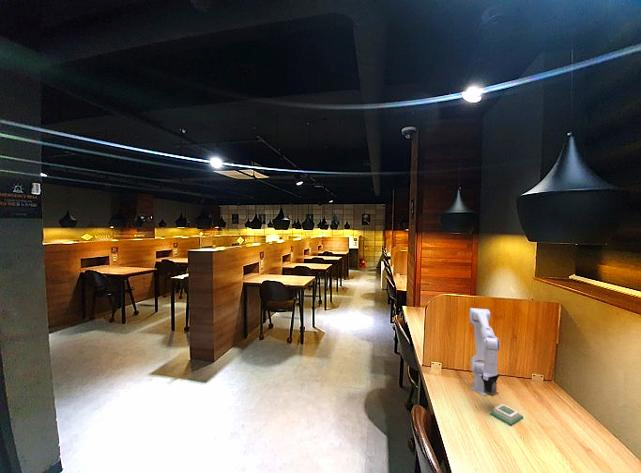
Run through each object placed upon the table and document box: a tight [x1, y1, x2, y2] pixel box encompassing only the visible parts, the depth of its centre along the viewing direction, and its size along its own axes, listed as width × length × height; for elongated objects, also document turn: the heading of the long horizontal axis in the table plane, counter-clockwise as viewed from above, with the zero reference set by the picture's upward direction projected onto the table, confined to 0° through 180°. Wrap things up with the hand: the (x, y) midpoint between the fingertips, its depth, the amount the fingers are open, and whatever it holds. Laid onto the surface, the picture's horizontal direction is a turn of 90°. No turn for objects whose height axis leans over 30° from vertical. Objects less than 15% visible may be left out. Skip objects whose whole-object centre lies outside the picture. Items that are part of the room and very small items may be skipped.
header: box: [493, 403, 520, 421], centre depth 128 cm, size 7×7×2 cm
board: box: [489, 409, 524, 427], centre depth 128 cm, size 11×9×1 cm
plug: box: [484, 381, 499, 397], centre depth 134 cm, size 4×6×6 cm
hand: (490, 389), depth 135 cm, fingers closed on plug, 5 cm apart
